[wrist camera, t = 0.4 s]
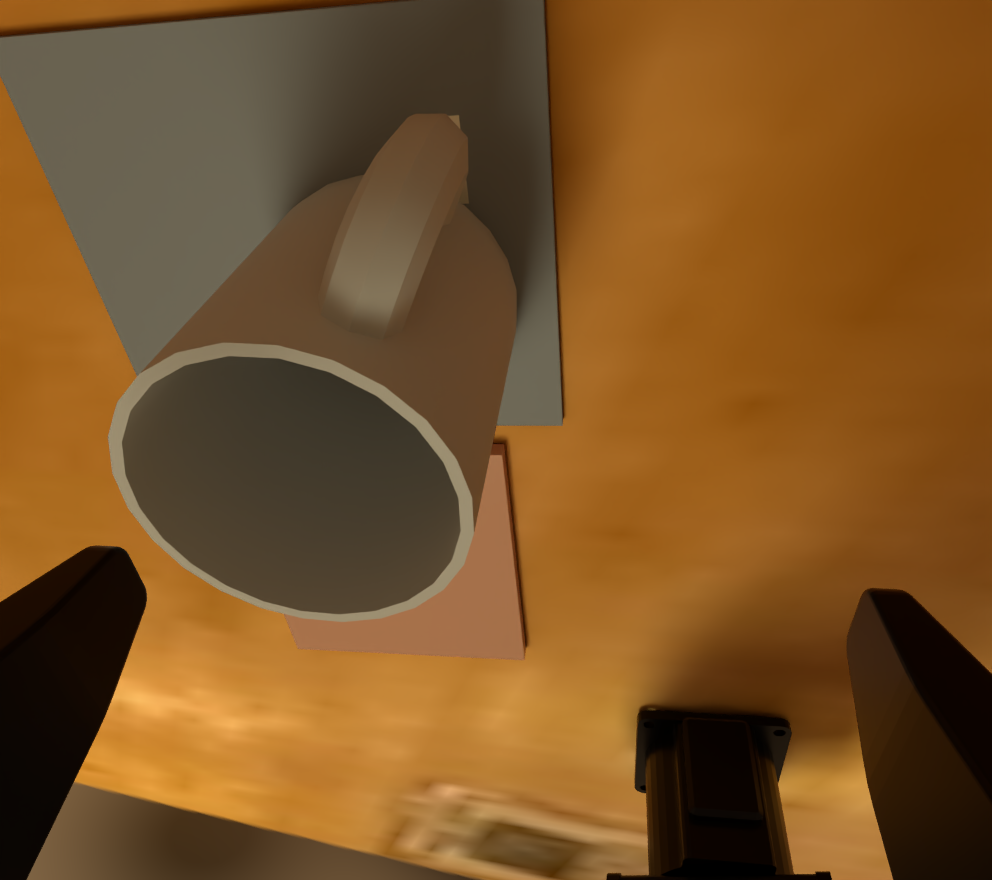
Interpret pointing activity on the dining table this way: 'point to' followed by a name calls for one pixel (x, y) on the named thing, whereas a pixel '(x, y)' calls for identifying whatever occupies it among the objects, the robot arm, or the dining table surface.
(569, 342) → the dining table surface
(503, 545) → the coaster pad
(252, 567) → the cup
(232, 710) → the dining table surface
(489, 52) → the tile
